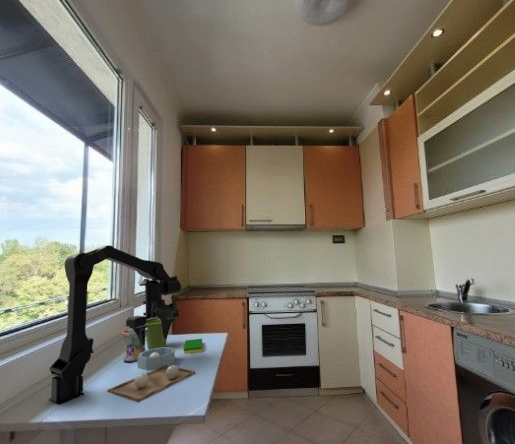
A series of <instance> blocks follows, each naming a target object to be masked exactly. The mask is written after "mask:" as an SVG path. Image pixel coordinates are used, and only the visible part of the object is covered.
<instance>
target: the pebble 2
mask: <svg viewBox="0 0 515 444" xmlns="http://www.w3.org/2000/svg"><path fill="white" fill-rule="evenodd" d="M168 366H169V367H168V368H167V370H166V376H167V378H168V379H174V378H176V377H177V375H178V373H179V370H178V368H179V367H178V366H176V365H175V364H171V365H168Z"/></svg>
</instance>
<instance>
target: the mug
mask: <svg viewBox="0 0 515 444" xmlns="http://www.w3.org/2000/svg"><path fill="white" fill-rule="evenodd" d="M147 330H148V328H146V329H145V337H146V333H147ZM121 335H122V336H123V339H124V343H125V353H124V356H123V357H122V360H123V361H125V362H131V363H132V362H138V356H139V354H140V353H141V352H144V351H147V350H146V345H145V346H142V345H141V343H140V341H139V339H138V337H137V335H136V333H135V332H134V330H133V329H132V328H129V329H125V330H122V331H121Z"/></svg>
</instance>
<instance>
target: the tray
mask: <svg viewBox="0 0 515 444" xmlns="http://www.w3.org/2000/svg"><path fill="white" fill-rule="evenodd" d="M169 366H170V365H168V366H167V365H165V366H163V367H160V368H158V369H152V370H150V371H148V372H145V373H146V374H147V375H148V377H149V381H148V384H147V385H146V386H145V387H143V388H138V387H136V386H135V378H136V377H134V378H132V379H130V380H127V381H125V382H122V383H120V384H118V385H115V386H112V387H110V388H108V389H107V393H109V394H113V395H115V396H118V397H121V398H124V399H127V400H131V401H133V402H136V403H139V402H141V401H143V400H145V399H147V398H149V397H151V396H153V395H155V394H157V393H159V392H161V391H163V390H165V389H167V388H170V387H171V386H173V385H175V384H177V383H179V382H181V381H183V380H185V379H187V378H188V377H189V378H190V377H191V376H193V375H195V374H196V371H195V370H190V369H186V368H181V367H178V370H179V373H178V375H177V377H176V378H174V379H168V378H167V376H166V370H167V368H168V367H169Z"/></svg>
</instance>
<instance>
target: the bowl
mask: <svg viewBox="0 0 515 444" xmlns="http://www.w3.org/2000/svg"><path fill="white" fill-rule="evenodd" d="M154 352H157V353H159V354H160V356H157V357H149V356H150V355H151V354H152V353H154ZM175 360H176V348H175V347H168V346H166V347H161V348H153V349H150V350H149V349H147V350H146V351H144V352H141V353H140V354H139V356H138V361H137V369H140V370H145V371H149V370H150V371H153V370H155V369H158V368H160V367H163V366H165V365H167V366H171V365H174V364H175Z"/></svg>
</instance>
